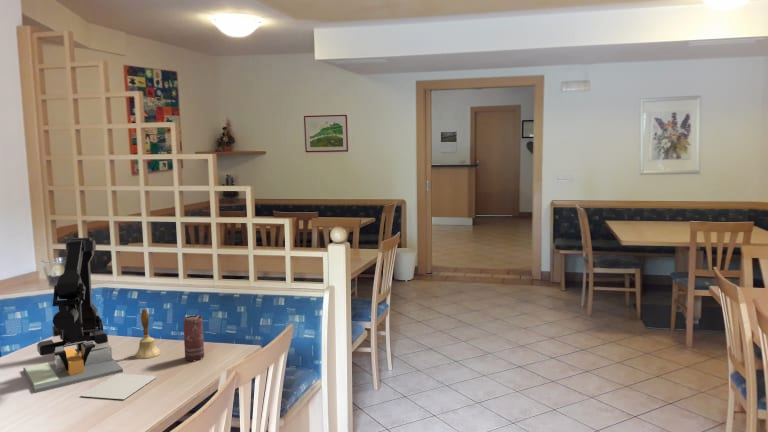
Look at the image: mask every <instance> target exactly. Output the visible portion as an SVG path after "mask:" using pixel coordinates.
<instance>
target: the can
mask: <svg viewBox="0 0 768 432" xmlns="http://www.w3.org/2000/svg"><path fill="white" fill-rule="evenodd" d="M182 322H183V340H184V341H183V342H184V343H183V344H184V358H185V360H186V361H188V360H197V361H200V360H199V359H201V358H202V359H204V358H205V348H204V347H205V343H204V325H203V324H204V323H203V317H202V316H201V315H189V316H186V317H184V318H183V321H182ZM202 359H201V360H202Z"/></svg>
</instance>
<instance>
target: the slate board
mask: <svg viewBox="0 0 768 432" xmlns="http://www.w3.org/2000/svg"><path fill="white" fill-rule="evenodd" d="M47 363H48V364H49V365H50V367H51V368H52V370H53V371H54V373H55V374H56V375H57V377H58V378H59V380H58V381H54V382H50V383H45V384H41V385H37V386H34V384H33V382H32V380H31V379H30V377H29V375H28V373H27V371H26V370H25V367H26V366H25V367H23V368H22V369H23V372H24V375H25V376H26V379H27V380H28V382H29V384H30V386H31V387H32V390H33V392H34V393H41V392H44V391H49V390H53V389H57V388H61V387H65V386H70V385H75V384H77V383H78V384H79V383H83V382H87V381H89V380H90V381H91V380H94V379H98V378H103V377H107V376H113V375H115V374H122V373H123V372H124V368H123V367H122V366H120V364H119V363H118V362H117V361H115V359H114V358H113V357H112V360H110V361H106V362H102V363H97V364H93V365H88V366H84V372H83V373H79V374H74V375H69V374H68V372H67V371H66V369H65V368H64V367H63V371H61V372H57V371H56V369H55V360H54V361H49V362H48V361H47ZM39 364H40V363H39ZM39 364H37V365H39Z"/></svg>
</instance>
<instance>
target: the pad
mask: <svg viewBox="0 0 768 432" xmlns="http://www.w3.org/2000/svg"><path fill="white" fill-rule="evenodd" d="M25 370H26V371H27V373H28V375H29V377H30V379H31V380H32V382H33V384H34V386H37V385H41V384H45V383H50V382H54V381H58V380H59V378H58V377H57V375H56V374H55V373H54V371H53V370H52V368H51V367H50V365H49V364H48V362H44V363H43V362H42V363H39V365H38V364H34V365H29V366H25Z"/></svg>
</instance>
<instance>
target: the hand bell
mask: <svg viewBox="0 0 768 432" xmlns="http://www.w3.org/2000/svg"><path fill="white" fill-rule="evenodd" d="M147 310H148V309H147V308H142V310H141V314H140V322H141V325H142V327H143V331H142V332H143V338H141V339H140V340H139V346H138V350H137V351H136V352H135V354H134V357H135V358H136V359H139V360H146V359H152V358H155V357H158V356H160V354H161V352H162V351H161V350H160V349H159V348H158V347H157V346H156V343H155V339H154V337H151V336H150V332H149V323H150V315H149V312H148V311H147Z"/></svg>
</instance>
